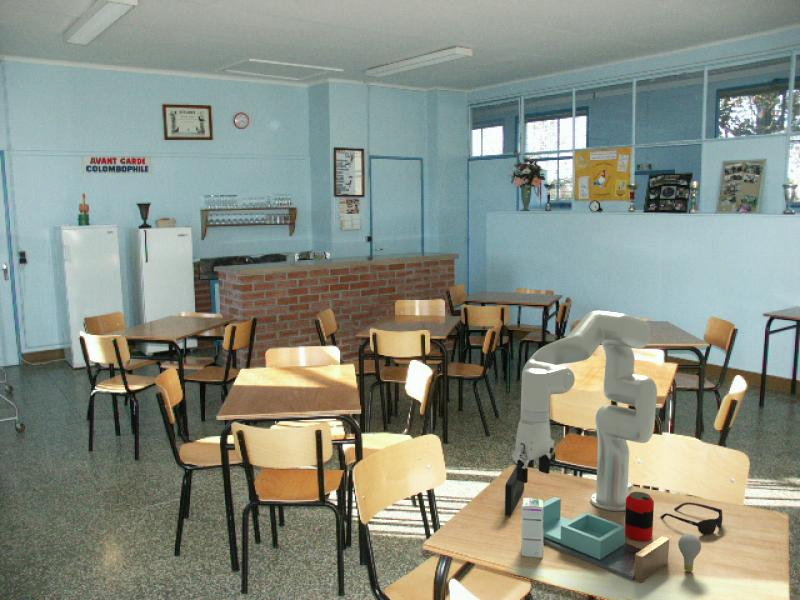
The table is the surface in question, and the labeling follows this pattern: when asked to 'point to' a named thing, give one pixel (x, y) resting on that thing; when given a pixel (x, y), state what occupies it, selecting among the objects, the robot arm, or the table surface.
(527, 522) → the syrup box
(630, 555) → the rail
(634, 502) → the soda can
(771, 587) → the table surface
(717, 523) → the sunglasses
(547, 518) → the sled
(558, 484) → the table surface
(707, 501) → the table surface
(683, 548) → the light bulb
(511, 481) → the nameplate
